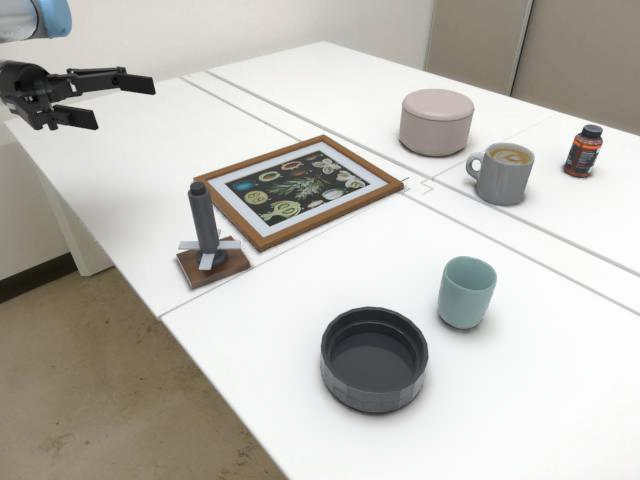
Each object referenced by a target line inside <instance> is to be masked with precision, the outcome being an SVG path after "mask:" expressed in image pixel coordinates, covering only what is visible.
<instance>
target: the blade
mask: <svg viewBox="0 0 640 480" xmlns="http://www.w3.org/2000/svg"><path fill="white" fill-rule="evenodd" d="M187 198H188V202H189V207H190V210H191V211H190V212H191V215H192V216H191V217H192V219H193V224H194V229H195V233H196V238H197V240H180V241H179V244H178V246H177V250H178V251H181V250H183V251H187V250H198V252H197V254H196V259H197V262H198V264H199V265H200V266H199V270H211V268H213V267H217V266H220V265H221V264H223V263H224V262H225V261H226V260H227V257H228V254H227V250H226V249H241V244H242V240H235V241H219V239H220V236H221V232H222V229H221V228H218V227H217V222H216V216H215V211H214V206H213V202H212V200H211V194H210V190H209V188H207V187H205V184H204V183H203V182H194V181H193V182H192V183H191V184H190V185H189V189H188V190H187Z"/></svg>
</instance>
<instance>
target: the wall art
mask: <svg viewBox="0 0 640 480" xmlns="http://www.w3.org/2000/svg"><path fill="white" fill-rule="evenodd" d="M192 181H193V183H194V182H203V183H204V184H205V187H207V188H209V190H210V194H211V200H212V204H214V205H215V207H216V208H218V210H219V211H220V212H221V213H222V214H223V215H224V216H225V217H226V218H227V219H228V220H229V221H230V222H231V223H232V224H233V226H234V227H236V229H237V230H238V231H239V232H240V233H241V234H242V235H243V237H245V238H246V239H247V240H248V242H250V243H251V244H252V246H254V247H255V249H256V250H257V251H258V252H259V253H260V252H263V251H265V250H269V249H270V248H272V247H275V246H277V245H279V244H281V243H284V242H286V241H289V240H290V239H293V238H295V237H297V236H299V235H301V234H302V235H303V234H304V233H306V232H308V231H311V230H313V229H315V228H317V227H320V226H322V225H325V224H326V223H329V222H332V221H333V220H336V219H338V218H340V217H342V216H344V215H346V214H347V215H348V214H350V213H351V212H353V211H356V210H358V209H360V208H362V207H365V206H367V205H370V204H372V203H374V202H377V201H379V200H381V199H383V198H385V197H388V196H390V195H392V194H394V193H396V192H398V191H401V190H403V189H404V186H405V183H404V182H402V181H401V180H399V179H397V178H396V177H394V176H393V175H391V174H389V173H388V172H386V171H385V170H383V169H381V168H380V167H378V166H377V165H375V164H373V163H372V162H370V161H368V160H366V159H365V158H364V157H362V156H361V155H359V154H357V153H355V152H354V151H352V150H351V149H349V148H347V147H346V146H345V145H342V144H341V143H339V142H337V141H336V140H334V139H333V138H331V137H329V136H328V135H326V134H324V133H323V134H320V135H317V136H314V137H311V138H308V139H305V140H303V141H299V142H296V143H293V144H290V145H288V146H284V147H281V148H278V149H275V150H272V151H269V152H266V153H263V154H261V155H257V156H254V157H251V158H249V159H245V160H242V161H239V162H236V163H233V164H230V165H227V166H224V167H221V168H218V169H214V170H212V171H209V172H206V173H203V174H200V175H198V176H195V177H193V178H192Z"/></svg>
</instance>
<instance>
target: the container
mask: <svg viewBox="0 0 640 480" xmlns="http://www.w3.org/2000/svg"><path fill="white" fill-rule="evenodd" d="M475 109H476V108H475V104H474V102H473V100H471V98H470V97H468V96H467V95H465V94H463V93H461V92H457V91H454V90H450V89H445V88H423V89H417V90H414V91H411V92H410V93H408V94H407V95H405V97H404V98H403V100H402V102H401V110H400V111H401V112H400V122H399V130H398V139H399V140H400V142H401V143H402V145H404V146H405V147H406V148H408V149H409V150H410V151H412V152H414V153H417V154H419V155H423V156H429V157H444V156H450V155H453V154H455V153H457V152H458V151H460V150H462V149H464V148H465V147H466V146H467V144H468V139H469V135H470V131H471V126H472V123H473V118H474V112H475Z"/></svg>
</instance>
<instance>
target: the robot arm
mask: <svg viewBox="0 0 640 480" xmlns="http://www.w3.org/2000/svg"><path fill="white" fill-rule="evenodd" d="M72 28H73V16H72V13H71V7H70V5H69V3H68V0H0V45H3V44H7V43H13V42H14V43H15V42H21V41H29V40H38V39H49V40H53V39H57V38H67V37H68V36H69V35H70V33H71V32H72ZM65 71H66V73H64V74H59V73H50V72H49V71H48V70H47V69H46V68H44V67H43V66H41V65H39V64H36V63H32V62H25V61H18V60H13V59H6V58H5V59H4V58H0V107H5V108H8V110H9V112H10V114H13V115H17V116H19V117H20V118H21V119H22V120H23V121H24V122H26V124H27V125H28V126H30V128H32V130H34V131H41V130H43V129H44V126H45V125H47V127H48V130H49V131H52V132H54V131H57V130H59V126H58V125H61V126H66V127H67V126H68V127H73V128H80V129H83V130H84V129H85V130H90V131H97V130H99V129H100V127H99V124H98V121H97V118H96V115H95V112H94V109H87V108H82V107H76V106H69V105H64V104H57V103H59V102H62V101H65V100H67V99H69V98H78V97H82V96H83V95H84V93H92V92H101V91H107V90H115V89H119V90H120V91H121V92H128V93H135V94H140V95H141V94H142V95H147V96H148V95H149V96H154V95H157V91H156V88H155V87H156V86H155V83H154V80H153V77H152V76H146V75H140V74H139V75H138V74H132V73H131V74H130V73H128V71H127V69H126V67H125V66H116V67H97V68H96V67H95V68H93V67H92V68H74V67H73V68H72V67H70V68H66V69H65ZM72 86H74V88H75V90H74V91H73V87H72ZM52 104H54V105H52Z"/></svg>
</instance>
